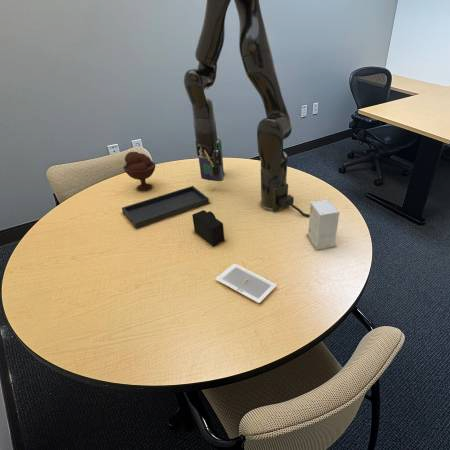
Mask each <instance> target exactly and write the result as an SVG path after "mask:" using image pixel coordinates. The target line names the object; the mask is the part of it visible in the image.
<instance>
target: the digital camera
mask: <svg viewBox="0 0 450 450" xmlns="http://www.w3.org/2000/svg"><path fill="white" fill-rule="evenodd" d="M191 217H192V222H193V229H194V230H193V231H194V233H195V234H197V235H198V236H199V237H200V238H202V239H203V240H204V241H206V242H207V243H208V244H209V245H210V246H212V247H215V246H218V245H220V244H222V243H223V242H225V230H224V223H223V222H222V221H221V220H219V219H218V218H217V217H216V215H215V214H214V212H212V211H210V210H209V211H206V210H205V209H202V210H200V211H197V212H194V213H193V214H192V215H191Z"/></svg>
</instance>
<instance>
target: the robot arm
mask: <svg viewBox="0 0 450 450" xmlns="http://www.w3.org/2000/svg"><path fill="white" fill-rule="evenodd" d="M231 1H232V0H206V5H205V11H204V17H203V22H202V27H201V31H200V34H199V38H198V41H197V43H196V48H195V52H194V57H195V59H196V61H197V62H198V65H197V67H195V68H191V69H188V70H186V71H185V72H184V75H183V85H184V89H185V92H186V94H187V97H188V99H189V102H190V104H191V110H192V117H193V130H194V137H195V141H194V143H195V148H196V155H197V157H199V156H200V155H201V156H202V155H203V154H204V155H205V156H207V158H208V160H209V161H210V162H211V164H212V171H213V175H214V176H216V175H219V168H218V166H221V165H222V162H221V153H220V150H216V149H215V146H214V145H215V143H216V142H217V138H218V132H217V124H216V118H215V111H214V103H213V101H212V99H210V98H209V97H207V96H206V93H205V91H206V90H209V89H211V88H212V87H213V86H214V84H215V82H216V79H217V77H216V76H217V71H218V61H219V59H220V55H221V53H222V51H223V47H224V44H225V38H226V37H225V36H226V28H225V27H226V17H227V16H226V15H227V12H228V9H229V6H230V3H231ZM233 2H234V4H235V5H234V6H235V9H236V11H237V15H238V23H239V27H238V28H239V31H238V49H239V55H240V58H241V62H242V66H243V69H244V72H245V75H246V77H247V79H248V80H249V82H250V83H251V85H252V87H253V88H254V89H255V91H256V92H257V94H258V95H259V98H261V101H262V104H263V107H264V112H265V117H263V118H262V119H261V120H260V121H259V122H258V125H257V127H256V139H257V142H256V143H257V153H258V156H259V158H260V205H261V208H262V209H265V210H266V211H272V212H274V213H276V212H278V211H281V210H283V209H286V208H288V207H289V206H290V207H291V208H293V209H294V210H296V211H297V212H298V213H299V214H301V216H304V217H307V218H309V217H310V213H305V212H303V211H302V210H301V209H300V208H299V207H298V206H296V205H295V204H294V199H295V198H294V196H293V195H291V194H289V183H287V181H288V180H287V178H288V154H287V153H286V152H285V151H284V141H285V140H286V139H288V138H289V137H290V135H291V133H292V129H293V126H292V125H293V124H292V121H291V118H290V115H289V114H290V113H289V111H288V109H287V106H286V102H285V100H284V98H283V94H282V90H281V85H280V82H279V78H278V74H277V70H276V66H275V60H274V57H273V56H274V55H273V53H272V48H271V45H270V42H269V38H268V33H267V29H266V26H265V21H264V17H263V14H262V9H261V4H260V0H233ZM210 157H213V158H210ZM213 160H214V163H213ZM218 160H219V162H218Z"/></svg>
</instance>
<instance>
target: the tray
mask: <svg viewBox="0 0 450 450" xmlns="http://www.w3.org/2000/svg"><path fill="white" fill-rule="evenodd" d="M208 204H210V199H209V197H208V196H207V195H205V194H204V192H202V191H200V190H199V189H198V188H196V187H195V186H194V185H191V186H187V187H184V188H181V189H177V190H175V191H172V192H167V193H164V194H162V195H158V196H155V197H152V198H148V199H145V200H143V201H142V200H141V201H139V202H135V203H133V204H129V205H126V206H123V207H122V206H121V211H122V214H123V215H124V217H126V218H127V219H128V221H129V222H130V223H131V224H132V225H133V227H134V228H135V229H136V230H138V229H140V228H144V227H147V226H149V225H152V224H155V223H158V222H161V221H163V220H166V219H169V218H171V217H174V216H177V215H180V214H184V213H185V212H189V211H192V210H194V209H197V208H199V207H200V208H201V207H203V206H205V205H208Z"/></svg>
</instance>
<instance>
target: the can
mask: <svg viewBox="0 0 450 450" xmlns="http://www.w3.org/2000/svg"><path fill="white" fill-rule="evenodd" d="M214 146H215V149H216V150H220V153H221V160H222V170H223V176H225V175H224V174H225V173H224V172H225V169H224V160H223V158H224V157H223V146H222V140H221V139H220V138H219V137H217V142H216V143H215V145H214Z"/></svg>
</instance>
